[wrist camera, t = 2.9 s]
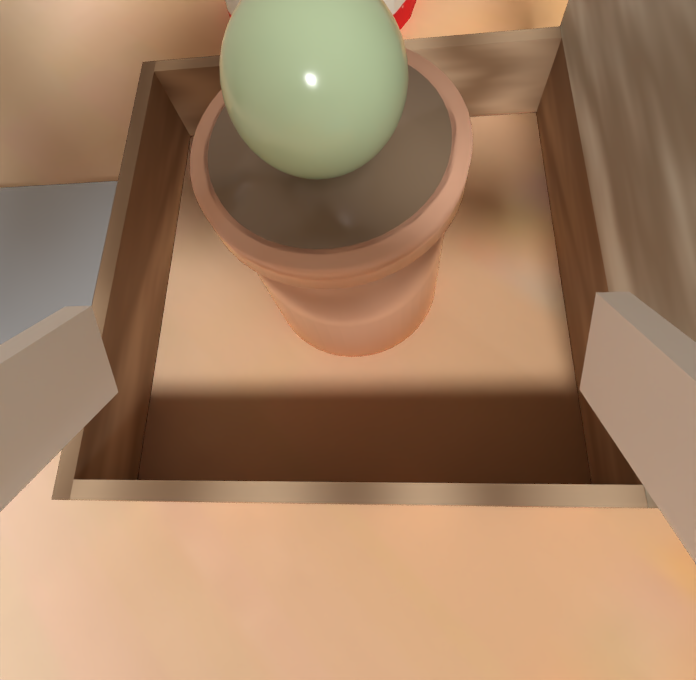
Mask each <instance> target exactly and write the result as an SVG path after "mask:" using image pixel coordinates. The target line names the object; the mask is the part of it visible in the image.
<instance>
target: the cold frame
mask: <svg viewBox="0 0 696 680" xmlns="http://www.w3.org/2000/svg"><path fill="white" fill-rule="evenodd" d="M404 44H405V48H407V49H409V50H411V51H413V52H415V53H417V54H419V55H421V56H422V57H424V58H425V59H427V60H429V61H430V62H432V63H433V64H434V65H435V66H436V67H438V68H439V69H440V70H441V71H442V72H443V73H444V74H445V75H446V76H447V77H448V78H449V79H450V80H451V81H452V83H453V84H454V85H455V87H456V88H457V90H458V91H459V93H460V94H461V96H462V98H463V100H464V103H465V105H466V107H467V109H468V113H469V117H472V116H487V115H502V114H517V113H531V112H536V114H537V121H538V127H539V134H540V141H541V147H542V154H543V161H544V168H545V174H546V181H547V188H548V194H549V201H550V208H551V214H552V221H553V228H554V235H555V241H556V248H557V255H558V261H559V268H560V275H561V282H562V288H563V295H564V302H565V308H566V315H567V322H568V329H569V335H570V342H571V349H572V355H573V362H574V369H575V376H576V382H577V389H578V396H579V402H580V409H581V416H582V423H583V429H584V436H585V443H586V449H587V456H588V463H589V470H590V476H591V483H592V484H492V483H389V482H285V481H181V480H137V478H138V471H139V465H140V458H141V452H142V446H143V439H144V433H145V426H146V420H147V413H148V407H149V400H150V394H151V387H152V381H153V374H154V368H155V361H156V355H157V348H158V342H159V335H160V329H161V322H162V316H163V309H164V303H165V296H166V290H167V284H168V277H169V271H170V264H171V258H172V251H173V245H174V238H175V232H176V225H177V219H178V212H179V206H180V199H181V193H182V186H183V180H184V173H185V167H186V160H187V154H188V147H189V141H190V136H193V135H195V132H196V129H197V126H198V124H199V122H200V120H201V118H202V115H203V114H204V112H205V111H206V109H207V107H208V106H209V104H210V103H211V101H212V100H213V99H214V98H215V96H216V95H217V94H218V93H219V91H220V90H221V85H220V67H219V61H220V56H208V57H197V58H185V59H173V60H161V61H150V62H143V64H142V69H141V73H140V78H139V83H138V88H137V93H136V97H135V102H134V107H133V112H132V116H131V121H130V126H129V131H128V136H127V140H126V145H125V150H124V155H123V160H122V164H121V169H120V174H119V179H118V183H117V188H116V193H115V198H114V203H113V207H112V212H111V217H110V222H109V227H108V231H107V236H106V241H105V246H104V251H103V255H102V260H101V265H100V270H99V274H98V279H97V284H96V289H95V294H94V298H93V303H92V309H93V312H94V315H95V319H96V322H97V325H98V328H99V331H100V335H101V338H102V341H103V344H104V347H105V351H106V354H107V357H108V360H109V363H110V367H111V370H112V373H113V376H114V379H115V383H116V386H117V389H118V393H117V394H116V395H115V396H114V397H113V398H112V399H111V400H110V401H109V402H108V403H107V404H106V405H105V406H104V407H103V408H102V409H101V410H100V411H99V412H98V413H97V414H96V415H95V416H94V417H93V418H92V419H91V420H90V421H89V422H88V423H87V425H86V426H85V427H84V428H83V429H82V430H81V431H80V432H79V433H78V434H77V435H76V436H75V437H74V438H73V439H72V440H71V441H70V442H69V443H68V444H67V445H66V446H65V447H64V448H63V449H62V452H61V456H60V461H59V466H58V471H57V476H56V480H55V485H54V490H53V495H52V500H99V501H159V502H228V503H297V504H367V505H436V506H505V507H574V508H658V507H657V505H656V504H655V502H654V501H653V499H652V498H651V496H650V495H649V493H648V492H647V490H646V489H645V487H644V486H643V484H642V483H641V481H640V480H639V478H638V477H637V475H636V474H635V472H634V471H633V469H632V468H631V466H630V465H629V463H628V462H627V460H626V459H625V457H624V456H623V454H622V453H621V451H620V450H619V448H618V447H617V445H616V444H615V442H614V441H613V439H612V438H611V436H610V435H609V433H608V432H607V430H606V429H605V427H604V426H603V424H602V423H601V421H600V420H599V418H598V417H597V415H596V414H595V412H594V411H593V409H592V408H591V406H590V405H589V403H588V402H587V400H586V399H585V397H584V396H583V394H582V393H581V391H580V390H579V389H580V383H581V377H582V372H583V366H584V360H585V354H586V348H587V342H588V337H589V331H590V325H591V319H592V313H593V307H594V302H595V296H596V292H630V293H632V294H633V295H634V296H636V297H637V298H638V299H640V300H641V301H642V302H644V303H645V304H646V305H648V306H649V307H650V308H651V309H653V310H654V311H655V312H657V313H658V314H659V315H661V316H662V317H663V318H665V319H666V320H667V321H668V322H670V323H671V324H672V325H674V326H675V327H676V328H678V329H679V330H680V331H682V332H683V333H684V334H685V335H687V336H688V337H689V338H691V339H692V340H693V341H695V342H696V0H569V1H568V4H567V7H566V10H565V13H564V16H563V19H562V22H561V25H560V27H548V28H536V29H524V30H513V31H501V32H489V33H478V34H466V35H454V36H442V37H431V38H419V39H407V40H404Z"/></svg>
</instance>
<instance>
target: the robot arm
mask: <svg viewBox="0 0 696 680" xmlns="http://www.w3.org/2000/svg"><path fill="white" fill-rule="evenodd" d="M579 390H580V391H581V393H582V394H583V396H584V397H585V399H586V400H587V402H588V403H589V405H590V406H591V408H592V409H593V411H594V412H595V414H596V415H597V417H598V418H599V420H600V421H601V423H602V424H603V426H604V427H605V429H606V430H607V432H608V433H609V435H610V436H611V438H612V439H613V441H614V442H615V444H616V445H617V447H618V448H619V450H620V451H621V453H622V454H623V456H624V457H625V459H626V460H627V462H628V463H629V465H630V466H631V468H632V469H633V471H634V472H635V474H636V475H637V477H638V478H639V480H640V481H641V483H642V484H643V486H644V487H645V489H646V490H647V492H648V493H649V495H650V496H651V498H652V499H653V501H654V502H655V504H656V505H657V507H658V508H659V510H660V511H661V513H662V514H663V516H664V517H665V519H666V520H667V522H668V523H669V525H670V526H671V528H672V529H673V531H674V532H675V534H676V535H677V537H678V538H679V540H680V541H681V543H682V544H683V546H684V547H685V549H686V550H687V552H688V553H689V555H690V556H691V558H692V559H693V561H694V562H695V564H696V342H695V341H693V340H692V339H691V338H689V337H688V336H687V335H685V334H684V333H683V332H682V331H680V330H679V329H678V328H676V327H675V326H674V325H672V324H671V323H670V322H668V321H667V320H666V319H665V318H663V317H662V316H661V315H659V314H658V313H657V312H655V311H654V310H653V309H651V308H650V307H649V306H648V305H646V304H645V303H644V302H642V301H641V300H640V299H638V298H637V297H636V296H634V295H633V294H632V293H630V292H596V296H595V302H594V307H593V313H592V319H591V325H590V331H589V337H588V342H587V348H586V354H585V360H584V366H583V372H582V377H581V383H580V389H579ZM117 393H118V389H117V386H116V383H115V379H114V376H113V373H112V370H111V367H110V363H109V360H108V357H107V354H106V351H105V347H104V344H103V341H102V338H101V335H100V331H99V328H98V325H97V322H96V319H95V315H94V312H93V309H92V306H65V307H64V308H62V309H60V310H58V311H57V312H55V313H53V314H52V315H50V316H48V317H47V318H45V319H43V320H41V321H40V322H38V323H36V324H35V325H33V326H31V327H30V328H28V329H26V330H24V331H23V332H21V333H19V334H18V335H16V336H14V337H13V338H11V339H9V340H8V341H6V342H4V343H2V344H1V345H0V512H1V511H2V510H3V509H4V508H5V507H6V506H7V505H8V503H9V502H10V501H11V500H12V499H13V498H14V497H15V496H16V495H17V494H18V493H19V492H20V491H21V490H22V489H23V488H24V487H25V486H26V485H27V484H28V483H29V482H30V481H31V480H32V479H33V478H34V477H35V476H36V475H37V474H38V473H39V472H40V471H41V470H42V469H43V468H44V467H45V466H46V465H47V464H48V463H49V462H50V461H51V460H52V459H53V458H54V457H55V456H56V455H57V454H58V453H59V452H60V451H61V450H62V449H63V448H64V447H65V446H66V445H67V444H68V443H69V442H70V441H71V440H72V439H73V438H74V437H75V436H76V435H77V434H78V433H79V432H80V431H81V430H82V429H83V428H84V427H85V426H86V425H87V423H88V422H89V421H90V420H91V419H92V418H93V417H94V416H95V415H96V414H97V413H98V412H99V411H100V410H101V409H102V408H103V407H104V406H105V405H106V404H107V403H108V402H109V401H110V400H111V399H112V398H113V397H114V396H115V395H116V394H117Z"/></svg>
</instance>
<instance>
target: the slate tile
mask: <svg viewBox="0 0 696 680" xmlns="http://www.w3.org/2000/svg"><path fill="white" fill-rule="evenodd" d="M117 183H118V181H108V182H91V183H74V184H57V185H40V186H23V187H6V188H0V345H1V344H2V343H4V342H6V341H8V340H9V339H11V338H13V337H14V336H16V335H18V334H19V333H21V332H23V331H24V330H26V329H28V328H30V327H31V326H33V325H35V324H36V323H38V322H40V321H41V320H43V319H45V318H47V317H48V316H50V315H52V314H53V313H55V312H57V311H58V310H60V309H62V308H64V307H65V306H92V303H93V298H94V294H95V289H96V284H97V279H98V274H99V270H100V265H101V260H102V255H103V251H104V246H105V241H106V236H107V231H108V227H109V222H110V217H111V212H112V207H113V203H114V198H115V193H116V188H117Z"/></svg>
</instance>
